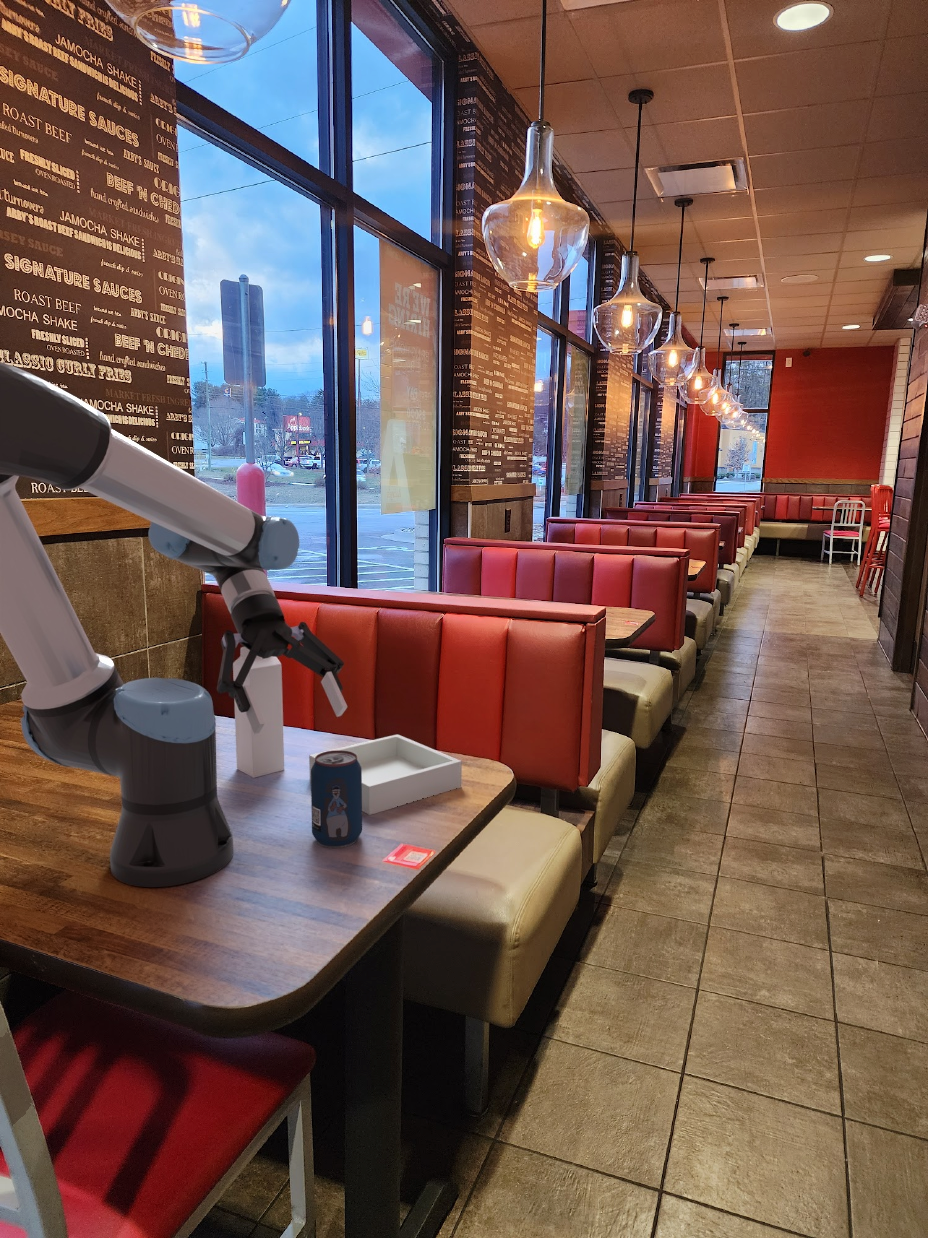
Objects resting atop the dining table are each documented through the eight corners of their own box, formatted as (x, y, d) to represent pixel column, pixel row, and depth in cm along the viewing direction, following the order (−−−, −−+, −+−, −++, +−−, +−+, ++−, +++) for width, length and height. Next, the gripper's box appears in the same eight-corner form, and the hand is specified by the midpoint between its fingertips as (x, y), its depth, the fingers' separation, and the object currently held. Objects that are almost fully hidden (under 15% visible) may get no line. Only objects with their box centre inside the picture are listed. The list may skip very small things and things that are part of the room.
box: (369, 815, 119) (369, 786, 118) (309, 780, 132) (309, 755, 132) (461, 787, 130) (461, 761, 130) (397, 758, 144) (397, 734, 143)
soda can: (344, 824, 116) (343, 745, 114) (372, 840, 111) (371, 758, 109) (302, 838, 111) (300, 756, 109) (329, 855, 106) (328, 769, 104)
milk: (284, 770, 137) (282, 645, 134) (252, 778, 133) (249, 650, 130) (267, 761, 142) (264, 640, 138) (235, 768, 138) (231, 644, 134)
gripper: (314, 612, 136) (363, 717, 127) (168, 628, 120) (213, 749, 111) (330, 585, 131) (382, 692, 122) (180, 597, 115) (228, 722, 106)
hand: (302, 720), depth 116 cm, fingers open, 13 cm apart
